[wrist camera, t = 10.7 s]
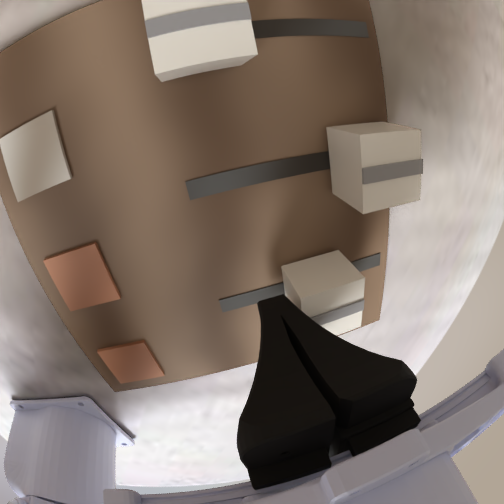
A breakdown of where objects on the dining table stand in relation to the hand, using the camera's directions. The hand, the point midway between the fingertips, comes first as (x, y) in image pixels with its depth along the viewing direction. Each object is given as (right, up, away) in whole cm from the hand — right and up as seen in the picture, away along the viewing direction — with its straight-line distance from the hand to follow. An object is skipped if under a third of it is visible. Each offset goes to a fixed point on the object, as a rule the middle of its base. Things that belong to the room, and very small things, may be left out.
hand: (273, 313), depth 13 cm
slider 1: (-3, +11, -5) cm, 12 cm away
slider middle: (+4, +7, -1) cm, 8 cm away
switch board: (-3, +5, 0) cm, 6 cm away
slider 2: (+2, +1, +2) cm, 3 cm away
